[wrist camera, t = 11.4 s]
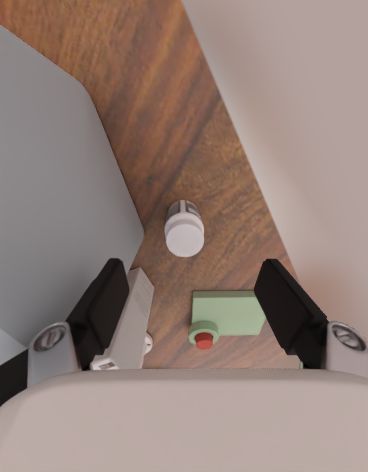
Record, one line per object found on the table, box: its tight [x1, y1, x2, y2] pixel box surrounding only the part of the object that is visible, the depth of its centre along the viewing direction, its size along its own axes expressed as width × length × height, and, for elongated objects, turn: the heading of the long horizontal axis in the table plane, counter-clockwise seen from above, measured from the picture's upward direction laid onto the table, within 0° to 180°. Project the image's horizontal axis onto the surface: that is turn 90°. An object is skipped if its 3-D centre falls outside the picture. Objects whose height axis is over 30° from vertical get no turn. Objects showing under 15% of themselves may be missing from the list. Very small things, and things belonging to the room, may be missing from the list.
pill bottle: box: [164, 200, 204, 257], centre depth 19 cm, size 5×5×8 cm
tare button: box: [195, 332, 213, 349], centre depth 32 cm, size 4×4×2 cm
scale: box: [188, 291, 266, 345], centre depth 33 cm, size 17×14×4 cm
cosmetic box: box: [92, 267, 154, 370], centre depth 23 cm, size 8×6×15 cm
